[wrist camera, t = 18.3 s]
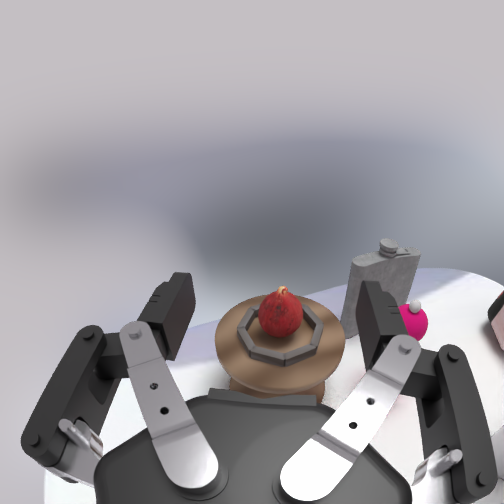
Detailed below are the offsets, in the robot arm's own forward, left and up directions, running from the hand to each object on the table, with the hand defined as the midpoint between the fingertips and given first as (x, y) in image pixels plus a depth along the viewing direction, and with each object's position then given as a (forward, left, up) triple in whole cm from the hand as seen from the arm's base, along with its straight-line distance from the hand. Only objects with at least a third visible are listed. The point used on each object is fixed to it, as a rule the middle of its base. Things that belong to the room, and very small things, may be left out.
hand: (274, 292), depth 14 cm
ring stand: (+15, -9, -35) cm, 39 cm away
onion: (+15, -9, -21) cm, 28 cm away
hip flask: (+20, -34, -35) cm, 53 cm away
